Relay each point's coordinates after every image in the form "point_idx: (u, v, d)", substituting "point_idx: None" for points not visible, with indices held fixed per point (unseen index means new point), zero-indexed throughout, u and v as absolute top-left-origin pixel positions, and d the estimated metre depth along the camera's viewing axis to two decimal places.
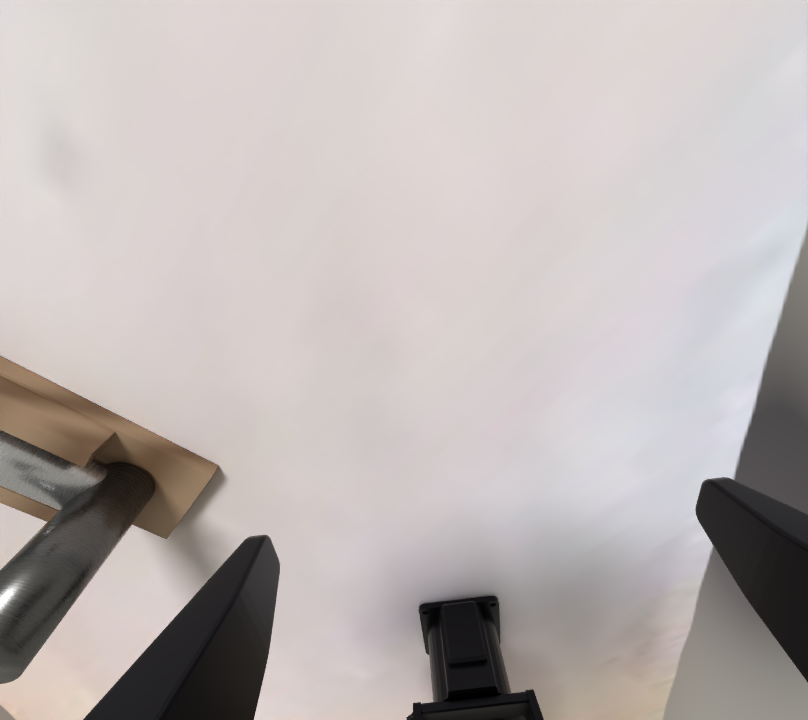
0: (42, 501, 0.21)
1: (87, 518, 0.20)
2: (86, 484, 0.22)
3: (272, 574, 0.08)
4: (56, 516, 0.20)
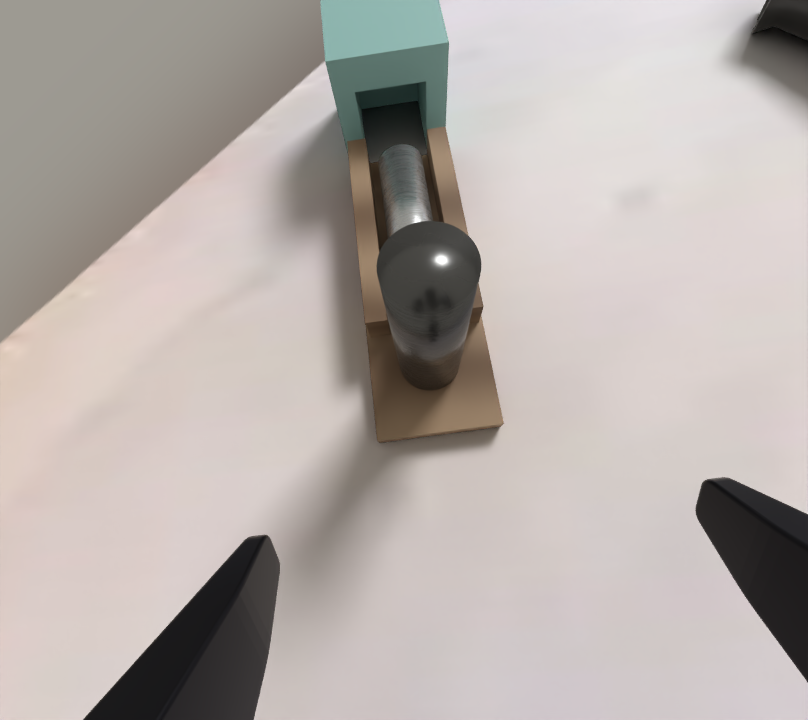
0: None
1: None
2: None
3: (272, 574, 0.08)
4: None
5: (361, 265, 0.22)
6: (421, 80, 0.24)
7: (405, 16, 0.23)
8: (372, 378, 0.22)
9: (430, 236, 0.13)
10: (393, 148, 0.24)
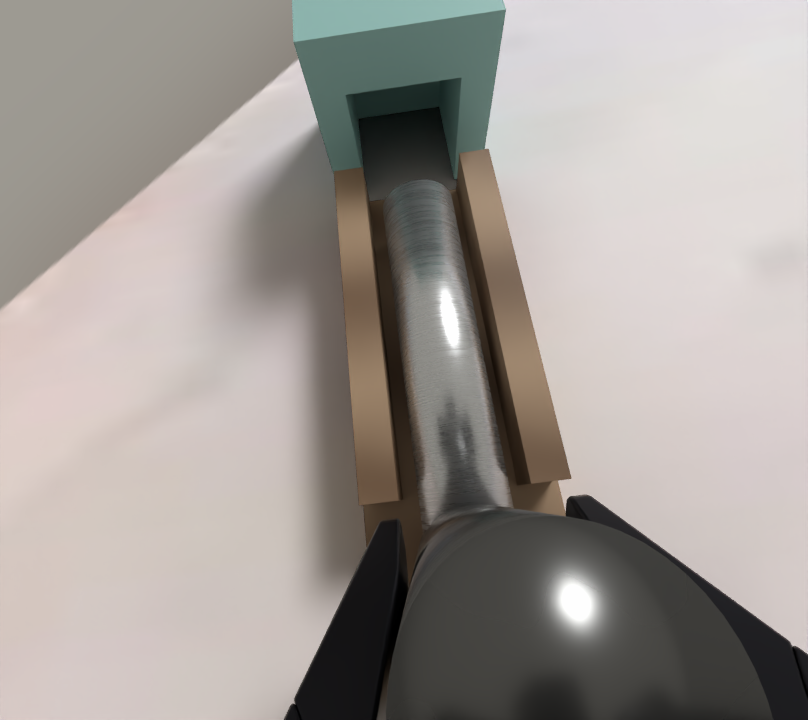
0: (448, 466, 0.11)
1: None
2: (511, 507, 0.11)
3: (404, 558, 0.08)
4: None
5: (354, 389, 0.13)
6: (454, 75, 0.14)
7: None
8: None
9: (569, 585, 0.04)
10: (408, 186, 0.14)
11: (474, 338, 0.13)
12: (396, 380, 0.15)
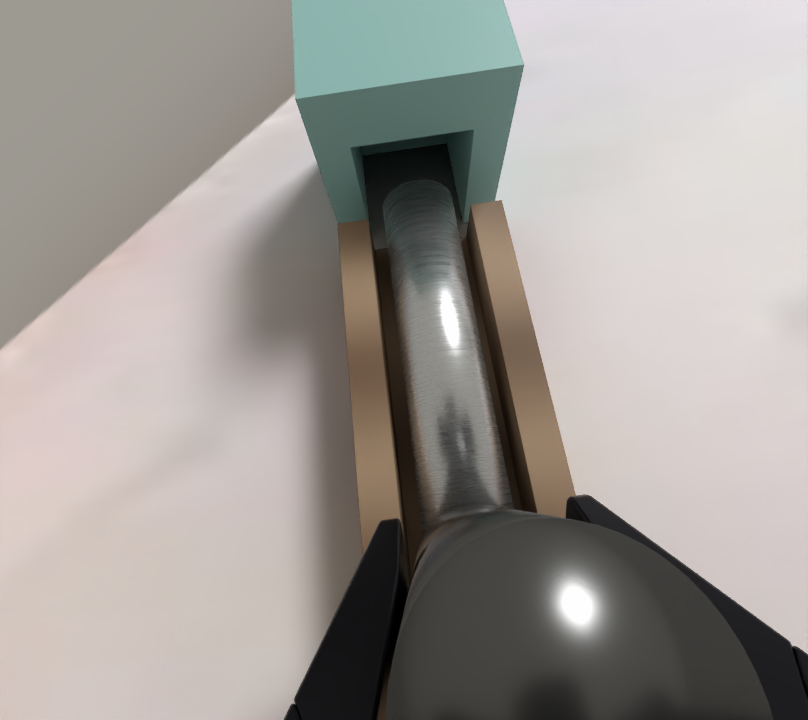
0: (448, 467, 0.11)
1: None
2: (511, 507, 0.11)
3: (404, 558, 0.08)
4: None
5: (360, 472, 0.12)
6: (466, 128, 0.14)
7: (440, 16, 0.13)
8: None
9: (569, 587, 0.04)
10: (408, 185, 0.14)
11: (475, 339, 0.13)
12: (404, 450, 0.14)
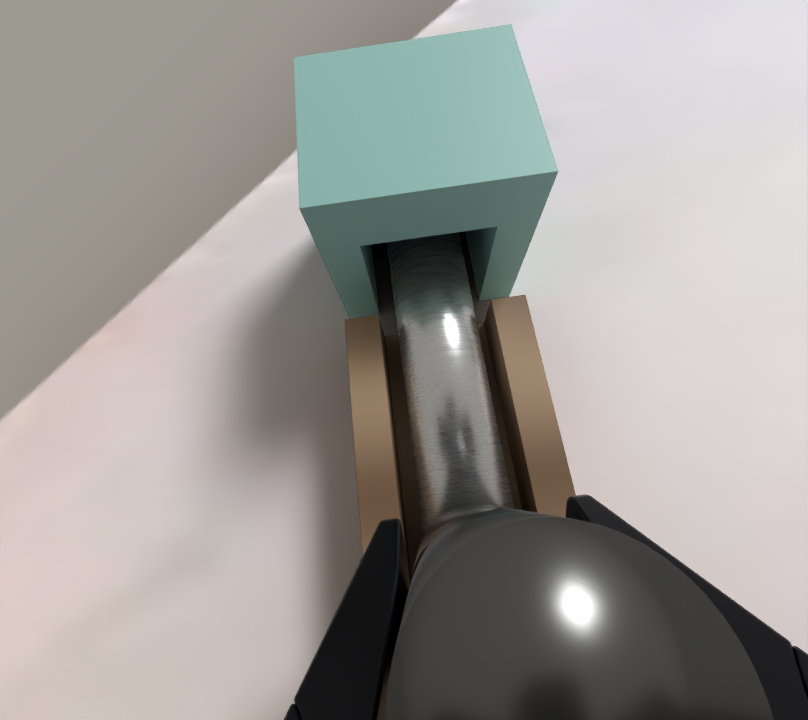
0: (448, 466, 0.11)
1: None
2: (511, 507, 0.11)
3: (404, 558, 0.08)
4: None
5: None
6: (489, 225, 0.12)
7: (461, 108, 0.11)
8: None
9: (569, 586, 0.04)
10: None
11: (475, 338, 0.13)
12: None
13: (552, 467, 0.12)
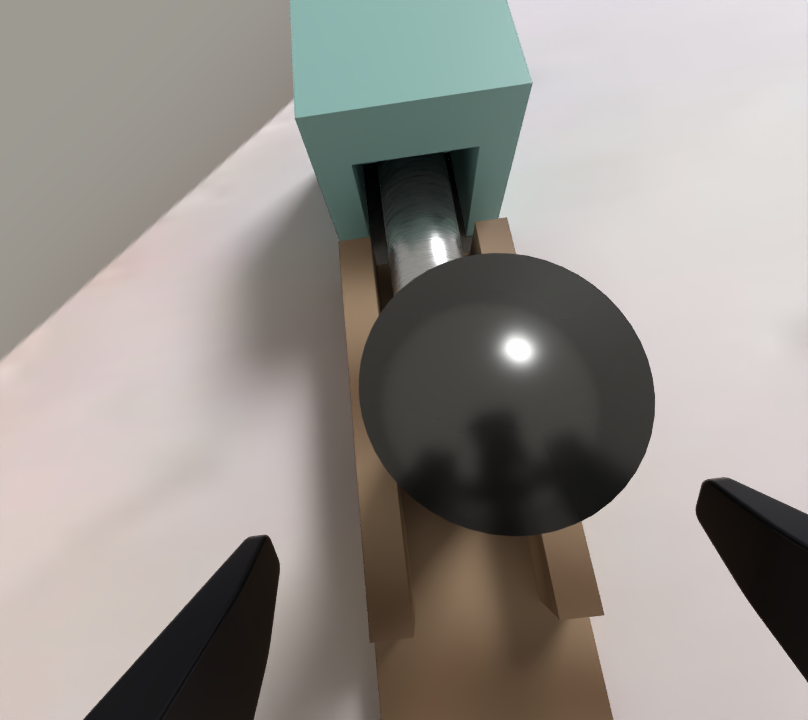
0: None
1: None
2: None
3: (272, 574, 0.08)
4: None
5: (363, 502, 0.12)
6: (471, 145, 0.13)
7: (445, 30, 0.12)
8: (383, 715, 0.12)
9: (502, 296, 0.05)
10: None
11: (458, 250, 0.14)
12: None
13: None
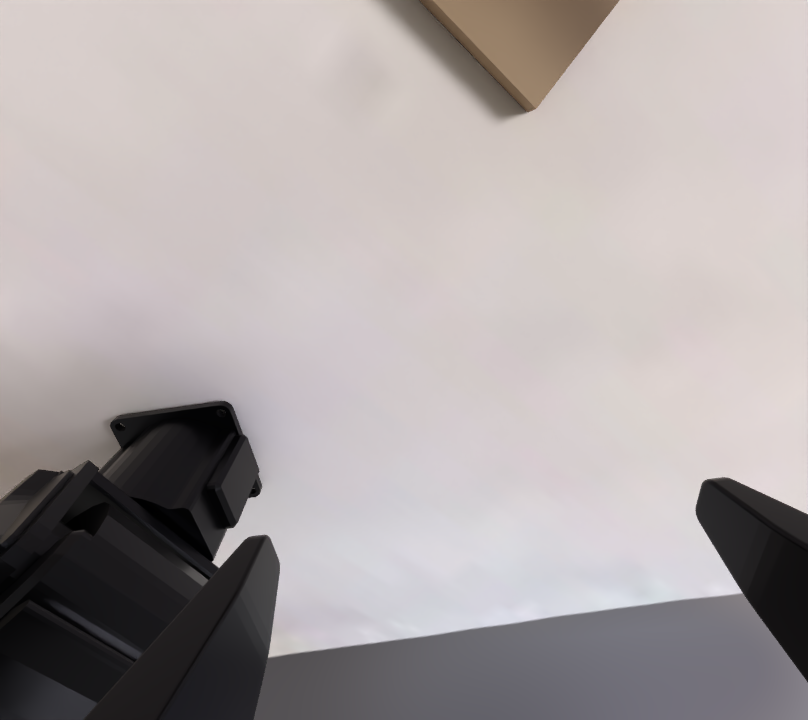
0: None
1: None
2: None
3: (272, 574, 0.08)
4: None
5: None
6: None
7: None
8: None
9: None
10: None
11: None
12: None
13: None
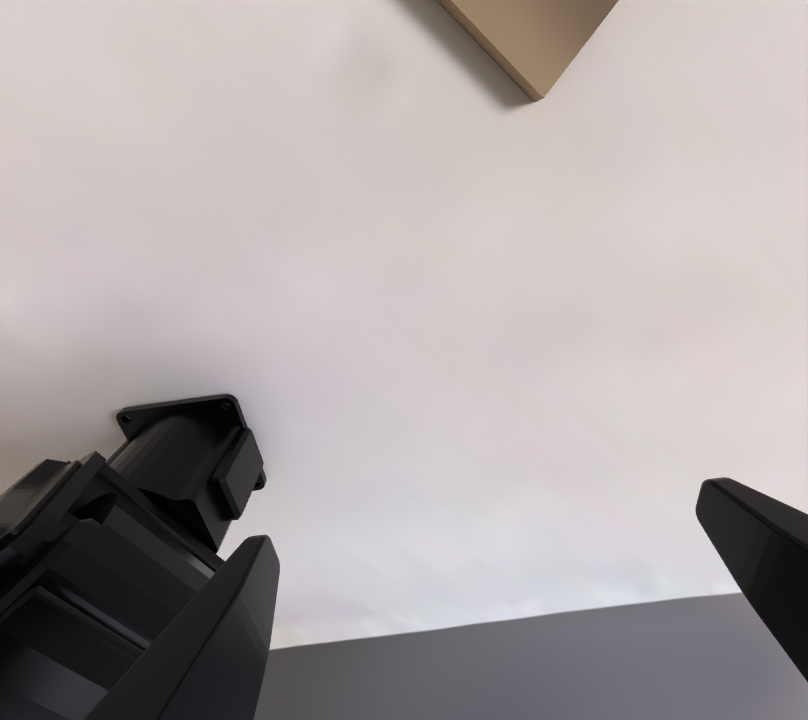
0: None
1: None
2: None
3: (272, 574, 0.08)
4: None
5: None
6: None
7: None
8: None
9: None
10: None
11: None
12: None
13: None
